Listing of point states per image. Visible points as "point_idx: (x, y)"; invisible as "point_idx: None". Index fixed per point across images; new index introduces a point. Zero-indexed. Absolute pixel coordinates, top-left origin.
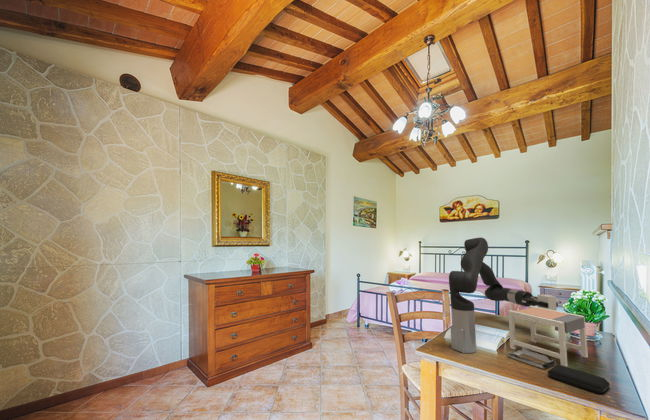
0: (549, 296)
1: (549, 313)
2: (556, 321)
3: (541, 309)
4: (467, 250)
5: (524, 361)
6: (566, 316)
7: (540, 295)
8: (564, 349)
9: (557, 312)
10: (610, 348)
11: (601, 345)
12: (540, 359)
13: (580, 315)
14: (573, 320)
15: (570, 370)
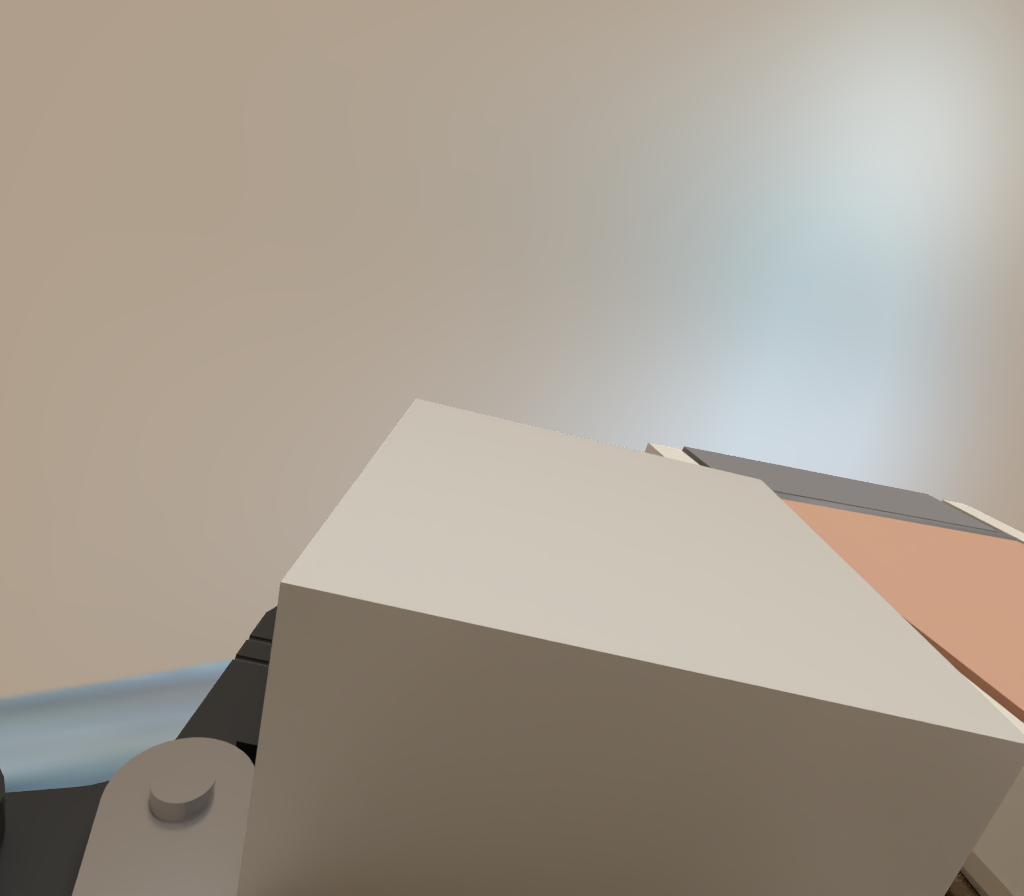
0: (653, 463)
1: (961, 576)
2: (997, 521)
3: (1009, 671)
4: None
5: None
6: (827, 499)
7: (895, 624)
8: None
9: (829, 545)
10: (116, 706)
11: (52, 770)
12: (970, 877)
13: (661, 453)
14: (839, 477)
15: None
